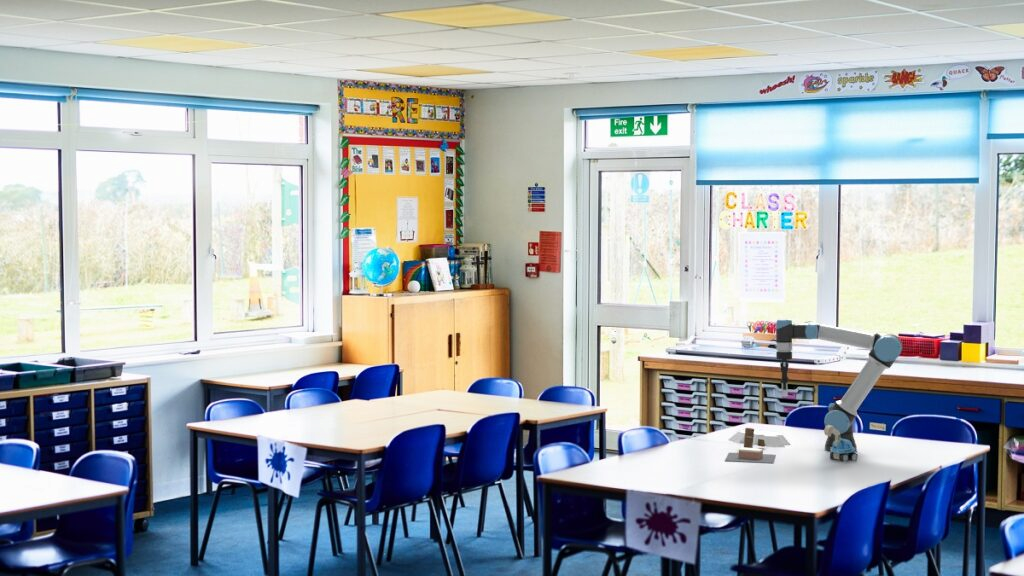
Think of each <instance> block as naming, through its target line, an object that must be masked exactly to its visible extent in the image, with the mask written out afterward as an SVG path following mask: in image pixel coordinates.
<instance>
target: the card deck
mask: <svg viewBox="0 0 1024 576" xmlns="http://www.w3.org/2000/svg"><path fill="white" fill-rule="evenodd" d="M738 453H739V456H738V458H748V459H761V458H763V454H764V449H763V448H756V447H755V448H754V447H753V448H745V447H744V446H742V447H740V448H739V449H738Z"/></svg>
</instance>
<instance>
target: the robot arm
mask: <svg viewBox="0 0 1024 576" xmlns="http://www.w3.org/2000/svg"><path fill="white" fill-rule="evenodd" d="M775 323H776V324H775V338H776V339H775V342H776V344H774V346H775V347H776V348H775V349H776V353H775V354H776V355H775V358H776V359H777V360H778V361H779V360H781V362H780V364H779V366H780V372H781V380H780V384H781V397H787V398H788V396H789V395H788V393H789V391H788V382H789V381H788V380H789V376H788V372H789V362H788V360H789V361H790V360H793V352H792V351H793V340H809V341H810V340H821V341H826V342H831V343H836V344H841V345H845V346H850V347H851V346H852V347H856V348H861V349H866V350H869V353H868V360H867V361H866V363H865V364H864V366H863V368H862V369H861V370H860V372H859V373H858V375H857V376H856V378H854V380H853V381H852V383H851V385H850V387H849V388H848V389H847V391H846V392H845V394H844V395H843V396H842V398H841V399H840V400H836V401H835V402H834V403H829V405H828V412H827V413H826V414H825V417H824V418H823V419H824V427H826V426H827V425H831V426H834V429H836V430H838V431H839V432H840V438H843V439H847V440H849V441H850V442H851V443H852V447H854V448H855V451H856V450H857V449H858V448H857V446H858V445H857V443H856V440H855V437H854V420H855V419H856V417H857V416H858V412H857V410H858V409H859V408H860V406H861V405H862V403H863V401H865V399H866V397H867V396H868V394H869V393H870V392H871V391H872V389H873V387H874V386H875V385H876V383H877V382H878V380H879V379H880V377H881V376H882V374H883V373H884V371H885V370H886V369H890V368H891V367H892V366H893V365H894V363H895V361H896V360H897V359H898V357H899V356H900V355H901V353H902V351H903V341H902V340H901V338H899V337H898V336H897V335H895V334H893V333H883V332H882V333H881V332H873V333H868V332H863V331H859V330H858V331H857V330H853V329H849V328H842V327H837V326H832V325H827V324H822V323H817V322H814V321H806V322H804V323H793V320H792V319H789V318H782V319H781V318H780V319H777V320H776V322H775ZM834 441H835V435H834V434H833V433H831V436H827V438H826V440H825V444H824V450H825V451H827V452H830V447H833V442H834ZM857 451H858V450H857ZM857 451H856V452H857Z"/></svg>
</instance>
